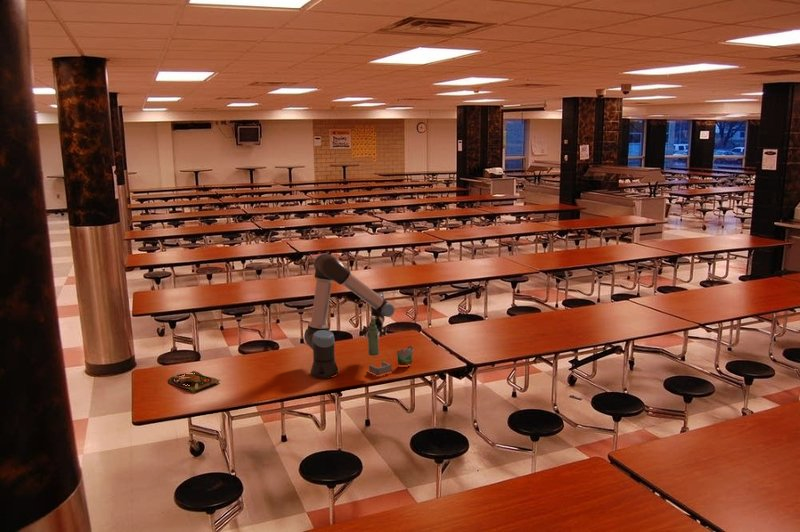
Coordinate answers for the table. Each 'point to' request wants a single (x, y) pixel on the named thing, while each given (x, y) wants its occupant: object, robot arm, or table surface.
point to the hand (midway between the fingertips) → (372, 337)
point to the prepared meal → (193, 381)
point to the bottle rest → (381, 370)
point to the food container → (405, 356)
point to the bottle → (373, 338)
